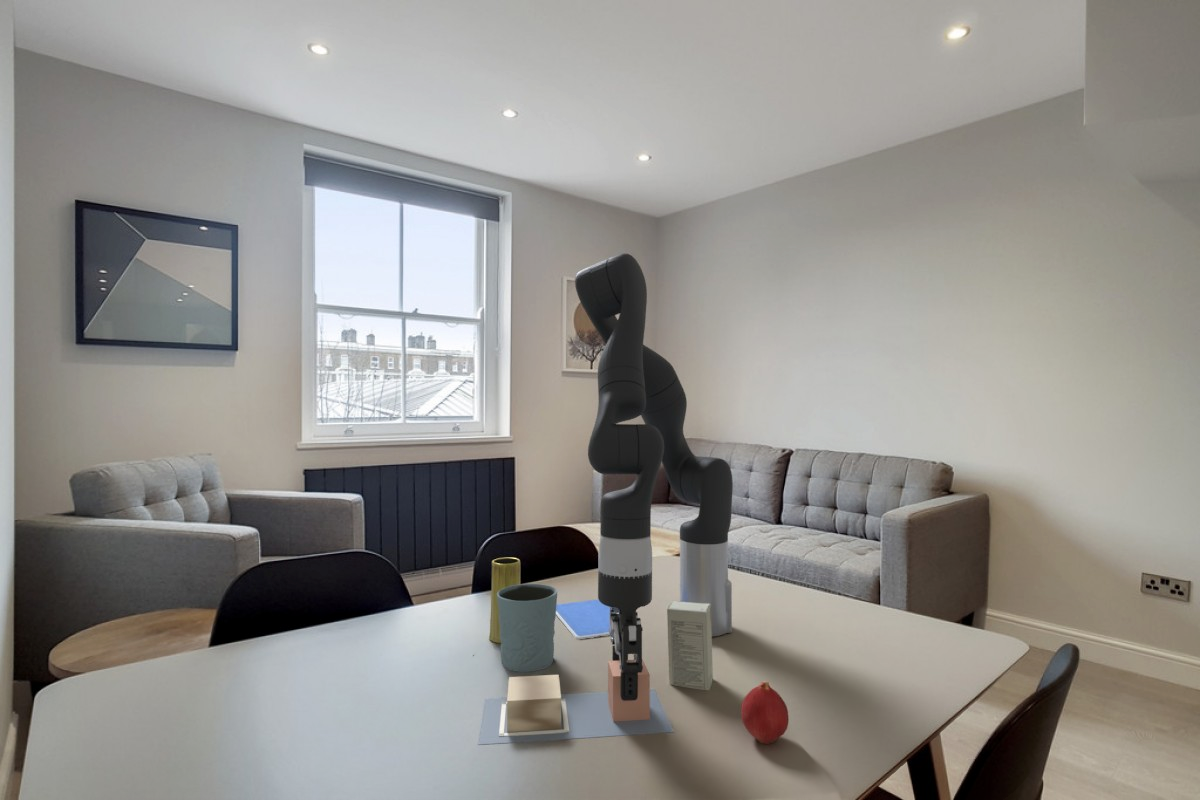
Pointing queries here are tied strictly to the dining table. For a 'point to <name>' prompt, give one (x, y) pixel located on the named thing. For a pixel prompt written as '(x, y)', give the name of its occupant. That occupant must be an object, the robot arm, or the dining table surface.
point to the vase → (502, 577)
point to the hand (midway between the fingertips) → (624, 684)
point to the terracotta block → (628, 709)
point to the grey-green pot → (527, 626)
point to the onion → (764, 713)
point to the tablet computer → (585, 618)
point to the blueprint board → (573, 720)
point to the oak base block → (533, 703)
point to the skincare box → (690, 645)
